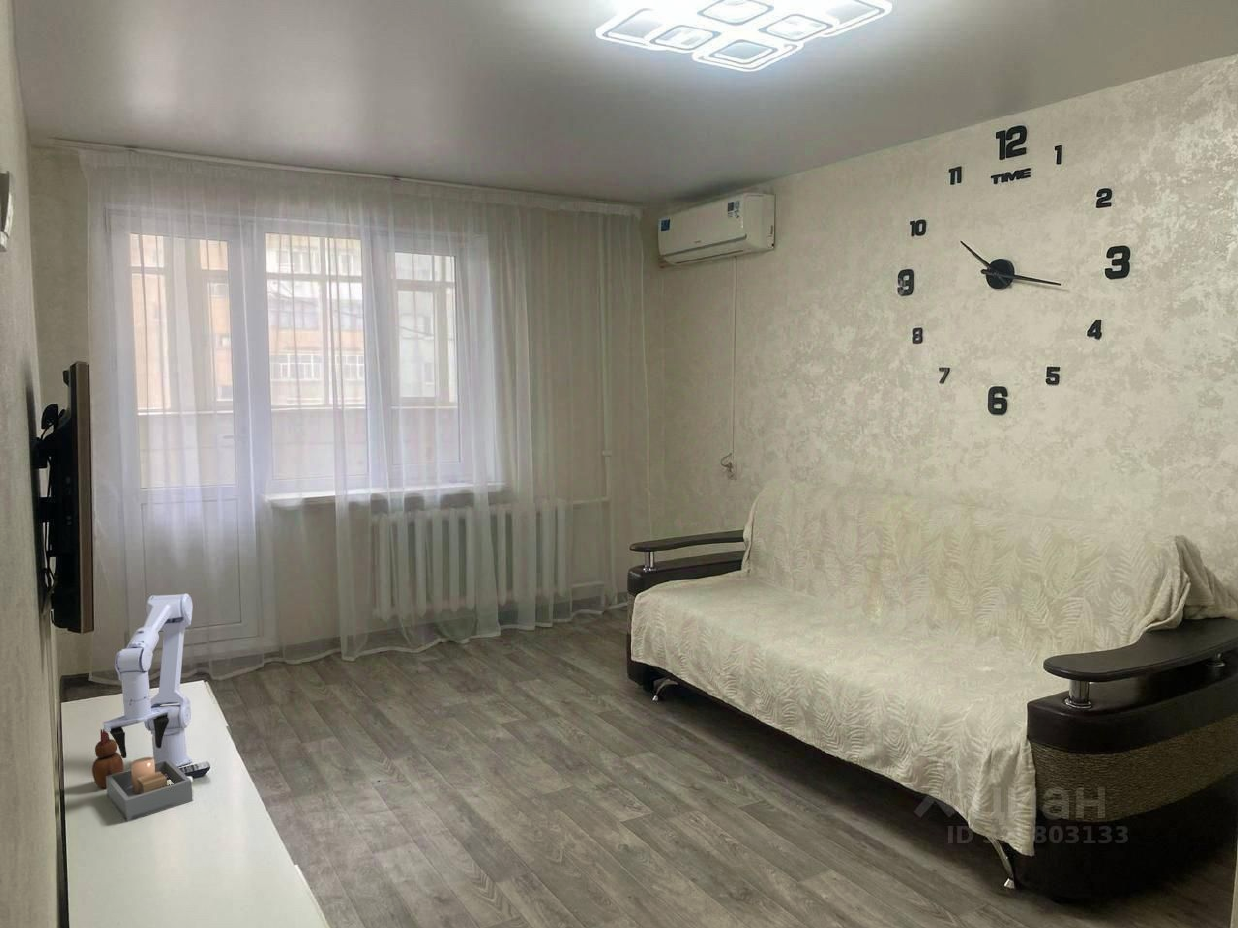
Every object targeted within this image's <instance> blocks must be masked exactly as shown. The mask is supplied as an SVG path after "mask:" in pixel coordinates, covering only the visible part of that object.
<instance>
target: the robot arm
mask: <svg viewBox="0 0 1238 928" xmlns="http://www.w3.org/2000/svg"><path fill="white" fill-rule="evenodd" d="M145 604H146V607H145V611H146V615H147V616H146V620H145V622H144V624H143V627H142V626H141V627H140V628H137V629H136V630H135V632H134V634H133V635H132V637H131V639H130V640H129V641H128V643H127V646H126V647H125V648H122V649H121V650H119V651H118V652H117V653H116V655H115V659H114V660H115V662H114V663H115V664H114V668H115V671H116V673H117V676H118V681H120V682H121V691H122V703H123V714H124V715H121V716H119V717H117V718H113V719H111V720H107V721H104V722H103V729H104V731H105V732H107V733H110V735H111V736H112V738H113V740H115V741H116V744H117V748H118V749H119V750H118V751H119V752H120V753H119V754H120V755H121V757H122V759H125V758H127V751H126V750H127V749H126V743H125V742H126V732H125V731H124V727H129V726H132V725H136V724H140V723H144V727H145V729H146V730H147V731H148V732H150V735H152V736H151V743H152V744H151V745H152V748H151V749H152V758H154V762H158V761H161V760H165V759H169V760H170V761H171V762H172V763H173V764H174V765H175V766H177V767H181V766H184V765H185V766H186V765H188V764H191V763H193V760H192V759H191V758H190V757H189V756H188V755H187V747H186V746H187V745H186V733H185V731H186V730H185V729H187V727H188V726H189V725H190V722H191V717H192V712H191V711H192V710H191V700H190V699H189V697H188V696H187V695H185V694H183V693H182V692H181V691H180V689H181V677H182V676H181V675H182V662H183V650H184V639H185V638H184V637H185V631H186V628H188V627H190V626H191V625H192V619H193V618H192V617H193V607H194V606H193V600H192V597H191V596H190V594H188V593H183V594H181V593H180V594H164V595H162V594H161V595H154V594H153V595H151V596H149V598H147V601H146V603H145ZM161 630H162V632H163V640H162V641H163V642H162V650H161V651H162V653H161V665H160V674H159V675H160V676H159V684H158V693H156V694H155V695H154V696H153V697H151V693H150V691H151V690H150V681H149V670H150V669H151V667H152V660H153V656H154V653H153V652H154V650H155V649H156V648H155V647H156V646H157V644H158V643H159V640H160V636H159V632H160V631H161Z"/></svg>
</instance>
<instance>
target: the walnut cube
mask: <svg viewBox="0 0 1238 928" xmlns="http://www.w3.org/2000/svg"><path fill="white" fill-rule="evenodd" d="M137 782H138V793H139V795H140V794H143V793H146V792H150V791H153V790H156V789H159V788H163V787H166V786H167V778H166V777H165V776H164V775H163V774H162V773H161V772H156V773H153V774H150V775H146V776H143V777H140V778H137Z"/></svg>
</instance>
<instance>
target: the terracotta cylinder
mask: <svg viewBox="0 0 1238 928" xmlns="http://www.w3.org/2000/svg"><path fill="white" fill-rule="evenodd" d="M130 769H131V774H132V786H133V793H134V794H139V793H138V782H137V778H140V777H143V776H146V775H150V774H153V773H155V764H154V758H153V756H152V757H151V756H147V757H141V758H137V759H134V760H133V761H131V762H130Z"/></svg>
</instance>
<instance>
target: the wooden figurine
mask: <svg viewBox="0 0 1238 928" xmlns="http://www.w3.org/2000/svg"><path fill="white" fill-rule="evenodd" d="M117 751H118V745H117V743H116V741H115V739H114V738H113V739H112V738H111V739H110V736H109V732H105V731H104V728H100V741H98V742H97V743H96V745H95V747H94V752H95V756H96V757H97V758H95V760H94V761H93V763H92V766H91V774H92V778H93V781H94V782H95V784H96V785H97V786H98V787H99V788H102V789H105V788H106V789H107V786H106V776H109V775H112V774H116V773H119V772H123V771H124V763H123V758H122V757H121V753H118V752H117Z"/></svg>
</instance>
